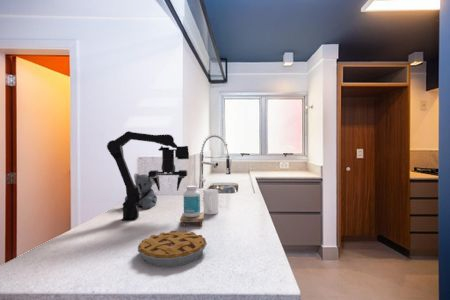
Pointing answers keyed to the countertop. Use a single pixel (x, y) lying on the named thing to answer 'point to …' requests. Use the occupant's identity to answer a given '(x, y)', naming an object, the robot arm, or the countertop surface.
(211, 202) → the mug
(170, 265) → the pie
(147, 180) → the koala plush
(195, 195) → the pill bottle
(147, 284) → the countertop surface
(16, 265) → the countertop surface
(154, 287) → the countertop surface
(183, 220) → the square wooden stand
